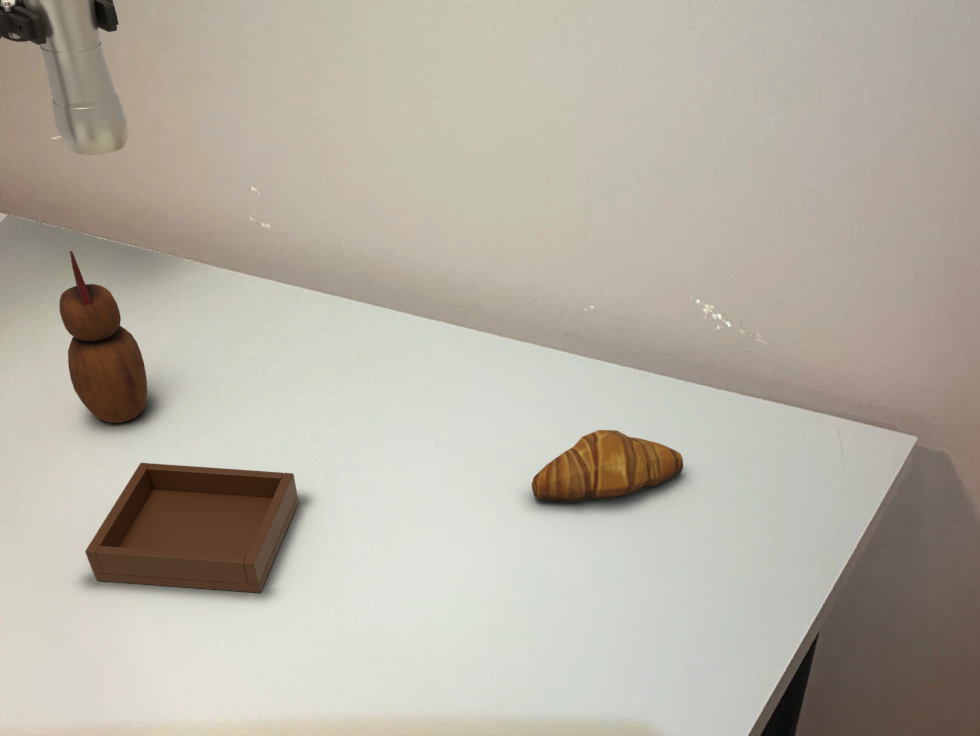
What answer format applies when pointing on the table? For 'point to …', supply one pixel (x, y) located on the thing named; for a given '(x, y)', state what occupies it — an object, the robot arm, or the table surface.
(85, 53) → the silver bottle
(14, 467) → the table surface
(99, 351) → the wooden figurine
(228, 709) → the table surface
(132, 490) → the tray
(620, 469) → the croissant
